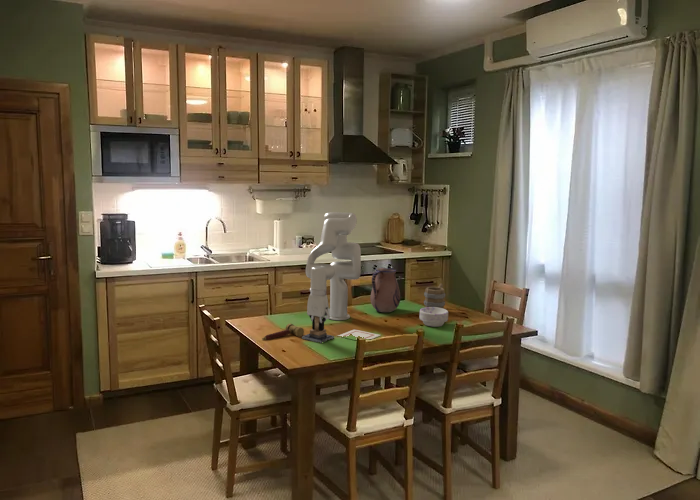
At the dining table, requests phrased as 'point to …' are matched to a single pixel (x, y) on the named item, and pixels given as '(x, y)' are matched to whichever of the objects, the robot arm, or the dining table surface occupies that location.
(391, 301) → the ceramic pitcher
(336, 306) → the robot arm
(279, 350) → the dining table surface
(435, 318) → the paper bowls
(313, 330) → the stamp
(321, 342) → the ink pad
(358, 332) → the paper sheet
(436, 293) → the tankard
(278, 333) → the gavel
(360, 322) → the dining table surface
